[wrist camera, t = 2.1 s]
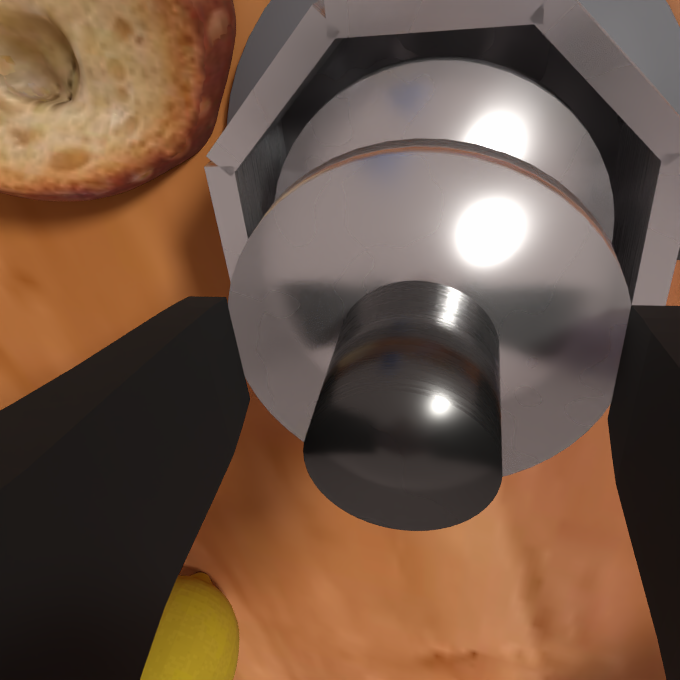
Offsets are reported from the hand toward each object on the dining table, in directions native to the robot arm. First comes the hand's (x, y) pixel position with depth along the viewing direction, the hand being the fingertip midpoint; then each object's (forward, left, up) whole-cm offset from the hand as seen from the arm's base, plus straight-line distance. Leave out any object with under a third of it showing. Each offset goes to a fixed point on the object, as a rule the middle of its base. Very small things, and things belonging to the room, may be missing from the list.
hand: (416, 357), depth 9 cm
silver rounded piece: (0, 0, -4) cm, 4 cm away
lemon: (-19, +11, -8) cm, 23 cm away
